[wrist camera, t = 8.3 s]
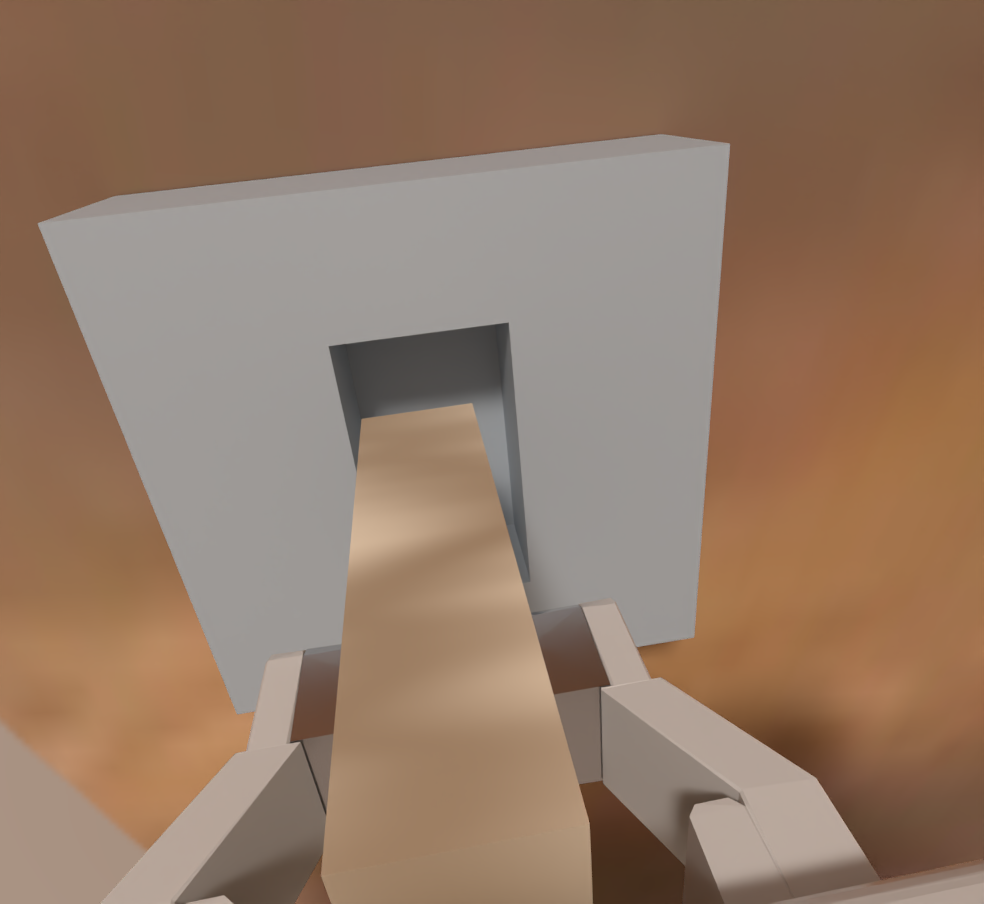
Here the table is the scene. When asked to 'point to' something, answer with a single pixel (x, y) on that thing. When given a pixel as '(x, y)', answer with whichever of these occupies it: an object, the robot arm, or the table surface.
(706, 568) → the table surface
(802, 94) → the table surface
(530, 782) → the wooden peg
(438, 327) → the grey peg hole block
